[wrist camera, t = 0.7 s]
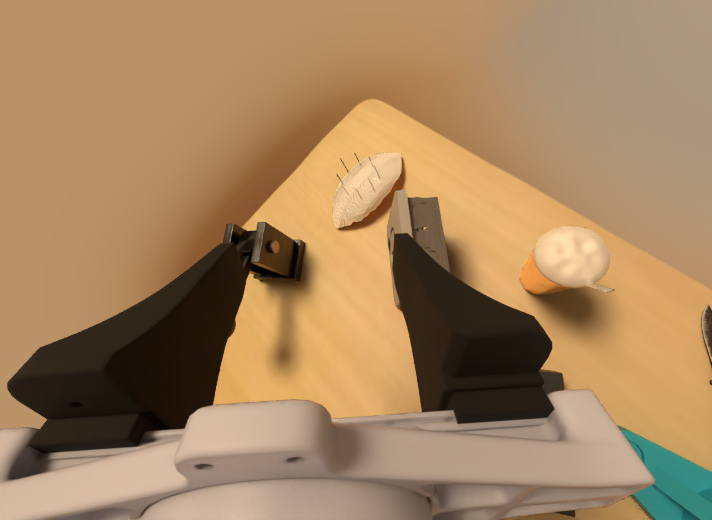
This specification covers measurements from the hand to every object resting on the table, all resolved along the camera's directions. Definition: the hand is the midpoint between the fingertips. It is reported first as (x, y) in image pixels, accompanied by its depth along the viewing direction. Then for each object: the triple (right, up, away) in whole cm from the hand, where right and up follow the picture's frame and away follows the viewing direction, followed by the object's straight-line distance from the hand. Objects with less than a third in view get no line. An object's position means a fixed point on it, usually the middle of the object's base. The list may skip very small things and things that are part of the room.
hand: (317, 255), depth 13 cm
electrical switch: (+8, 0, +19) cm, 21 cm away
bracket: (-8, 0, +24) cm, 25 cm away
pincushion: (+3, +8, +23) cm, 25 cm away
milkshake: (+20, -2, +15) cm, 25 cm away
